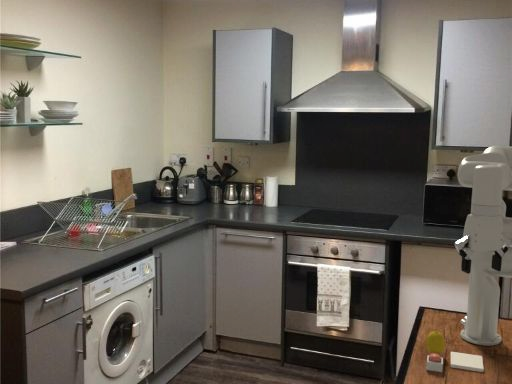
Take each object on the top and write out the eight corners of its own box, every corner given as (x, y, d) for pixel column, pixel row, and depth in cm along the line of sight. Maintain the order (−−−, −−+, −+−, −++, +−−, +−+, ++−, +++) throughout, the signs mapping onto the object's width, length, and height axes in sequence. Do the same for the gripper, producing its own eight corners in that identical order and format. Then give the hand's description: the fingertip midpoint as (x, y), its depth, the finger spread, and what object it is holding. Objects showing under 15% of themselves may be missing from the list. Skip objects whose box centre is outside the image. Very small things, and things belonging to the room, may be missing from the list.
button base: (426, 363, 168) (427, 355, 167) (442, 365, 166) (443, 357, 166) (426, 369, 164) (426, 361, 163) (442, 372, 162) (442, 363, 162)
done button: (430, 358, 166) (430, 352, 166) (440, 359, 166) (440, 354, 165) (429, 362, 164) (430, 356, 164) (439, 363, 163) (440, 358, 163)
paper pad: (450, 354, 174) (450, 351, 174) (481, 359, 171) (481, 355, 171) (450, 367, 166) (450, 364, 165) (483, 372, 163) (483, 368, 163)
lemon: (421, 354, 174) (423, 329, 173) (432, 349, 177) (434, 325, 176) (436, 360, 170) (438, 335, 168) (447, 356, 173) (449, 331, 172)
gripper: (503, 206, 159) (498, 265, 162) (449, 209, 155) (445, 269, 157) (522, 211, 152) (516, 272, 154) (466, 214, 147) (462, 277, 150)
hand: (481, 270), depth 156 cm, fingers open, 9 cm apart
